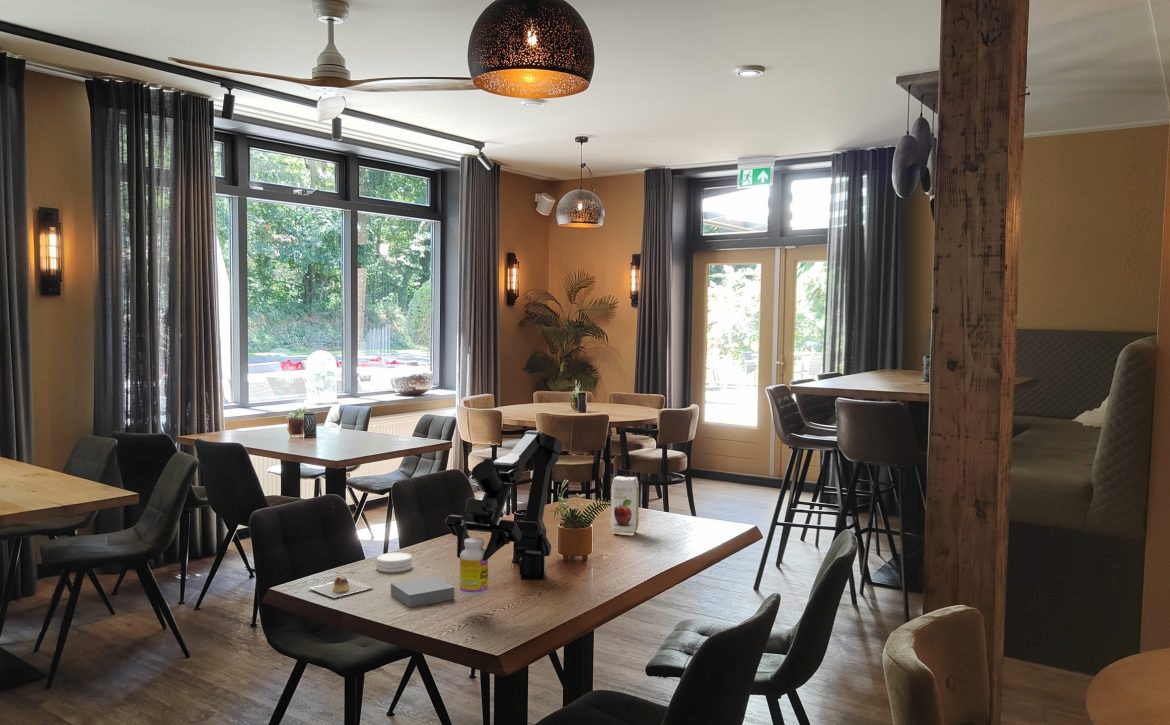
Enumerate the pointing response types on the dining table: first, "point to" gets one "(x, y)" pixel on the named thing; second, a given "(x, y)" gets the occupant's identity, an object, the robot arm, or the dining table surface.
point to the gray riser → (422, 591)
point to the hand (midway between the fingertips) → (471, 558)
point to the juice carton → (624, 504)
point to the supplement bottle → (473, 568)
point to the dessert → (341, 586)
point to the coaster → (394, 562)
